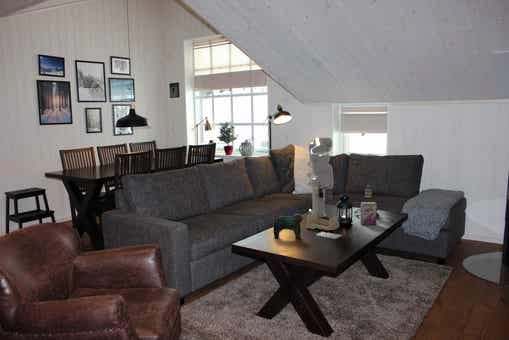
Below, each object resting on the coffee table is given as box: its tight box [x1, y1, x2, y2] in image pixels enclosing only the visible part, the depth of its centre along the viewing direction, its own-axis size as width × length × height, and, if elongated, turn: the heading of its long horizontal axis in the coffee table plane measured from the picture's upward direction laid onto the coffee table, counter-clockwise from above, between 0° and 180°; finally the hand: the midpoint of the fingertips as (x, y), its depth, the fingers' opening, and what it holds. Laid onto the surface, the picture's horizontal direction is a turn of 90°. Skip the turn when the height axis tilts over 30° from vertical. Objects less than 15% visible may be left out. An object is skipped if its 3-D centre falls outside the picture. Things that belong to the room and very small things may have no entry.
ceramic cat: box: [272, 208, 304, 240], centre depth 287 cm, size 20×6×20 cm, turn 81°
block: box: [314, 187, 333, 202], centre depth 305 cm, size 12×5×8 cm, turn 50°
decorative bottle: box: [354, 184, 383, 217], centre depth 337 cm, size 22×21×25 cm
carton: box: [305, 212, 340, 231], centre depth 310 cm, size 19×15×9 cm
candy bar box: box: [359, 201, 378, 226], centre depth 315 cm, size 11×5×16 cm, turn 84°
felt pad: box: [315, 231, 342, 240], centre depth 292 cm, size 15×9×1 cm, turn 50°
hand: (323, 196), depth 306 cm, fingers closed on block, 5 cm apart
